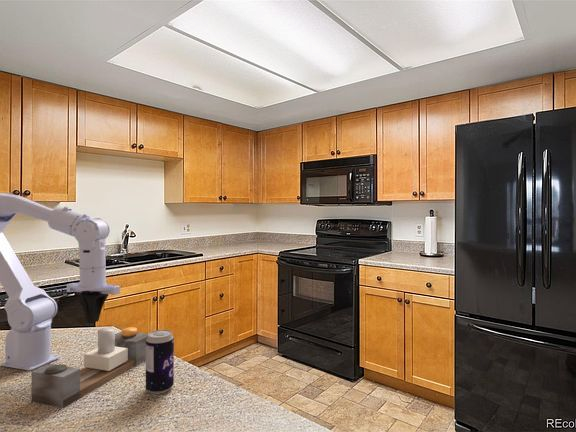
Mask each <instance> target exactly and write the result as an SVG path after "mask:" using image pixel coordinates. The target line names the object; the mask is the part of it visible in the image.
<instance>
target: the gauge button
mask: <svg viewBox="0 0 576 432" xmlns="http://www.w3.org/2000/svg"><path fill="white" fill-rule="evenodd" d="M121 331H122V336H125V337H126V338H131V337H133V336H134V335H136V334H137V332H138V328H137V327H135V326H131V327H130V326H129V327H125V328H122V329H121Z"/></svg>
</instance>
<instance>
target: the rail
mask: <svg viewBox="0 0 576 432" xmlns="http://www.w3.org/2000/svg"><path fill="white" fill-rule="evenodd" d="M148 334H149V333H145V332H139V331H137V334H136V335H134V336H133V337H131V338H126V337H125V336H122V330H120V331H119V332H117V333H115V346H116V347H123V348H128V361H126V362H124V363H122V364H120V365H119V366H117V367H115V368H113V369H111V370H110V371H106V370H100V369H94V368H88V367H83V368H79V367H72V366H67V365H66V364H61V363H60V364H56V363H47V364H45V365H42V366H40V367H38V368H36V369H33V370H31V374H30V375H31V385H30V386H31V390H30V391H31V392H30V393H31V399H30V401H31V403H36V404H40V405H45V406H50V407H56V408H60V409H64V408H66V407H68V406H69V405H71V404H72V403H75V402H76V401H77V400H80V399H81V398H83V397H84V396H86V395H88V394H90V393H91V392H93V391H95V390H96V389H99V388H100V387H101V386H103V385H104V384H106V383H108V382H110V381H112V380H113V379H115V378H116V377H118V376H120V375H121V374H123V373H125V372H127V371H128V370H130V369H132V368H134V367H137V366H139V365H141V364H142V363H144V362H146V339H147V337H148Z"/></svg>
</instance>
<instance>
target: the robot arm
mask: <svg viewBox="0 0 576 432" xmlns="http://www.w3.org/2000/svg"><path fill="white" fill-rule="evenodd" d="M18 214H22V215H25V216H28V217H31V218H34V219H38V220H41V221H44V222H47V224H48V226H49V228H50V229H52V230H54V231H57V232H60V233H63V234H65V235H68V236H71V237H74V239H75V240H76V241H77V242H78V243H77V244H78V249H79V250H78V251H79V252H78V254H79V255H78V256H79V258H78V259H79V263H78V264H79V282H72V283H67V284H66V293H72V292H73V293H74V292H76V293H80V294H79V295H77V296H76V299H77V301H78V302H79V303H80V305H81V306H82V308H83V311H84V314H85V317H86V320H87V323H89V324H94V323H97V322H99V321H100V316H101V312H102V309H103V308H104V307H103V306H104V304H105V302H106V300H107V298H108V297H109V295H111V296H116V295H119V294H121V285H116V284H110V283H107V276H106V274H107V273H106V272H107V271H106V270H107V269H106V265H107V264H106V261H107V259H106V256H107V255H106V254H107V253H106V252H107V251H106V239H107V237H108V236H109V235H110V225H109V223H108V222H106V220H103V219H102V218H101V217H100V218H99V217H98V218H97V217H96V218H91V217H90V214H87V213H83V214H82V213H78V212H76V211H73V208H72V207H69V206H64V207H57V208H55V209H53V208H51V207H48V206H45V205H43V204H41V203H38V202H36V201H33V200H31V199H29V198H26V197H24V196H21V195H18V194H14V193H11V192H5V193H4V192H3V193H1V192H0V284H1V286H2V288H3V290H4V291H5V293H6V295H7V296H8V299H7V300H6V303H5V304H4V306H3V308H4V310H5V312H6V316H7V322H8V324H9V326H10V330H9V331H8V332H7V334H6V336H5V341H4V343H5V345H4V346H5V347H4V350H5V351H4V362H2V363H1V366H2V367H7V368H11V369H18V370H23V371H34V370H36V369H39V368H41V367H43V366H46V365H48V364H50V363H51V362H53V361H55V360H58V359H60V356H59V355H54V354H51V353H52V352H51V350H52V348H51V347H52V344H51V343H52V337H51V336H52V334H51V333H52V323H53V319H54V317H55V316H56V314H57V313H58V304H57V302H56V300H55V299H54V298H52V297H50V296H49V295H48V293H46V291H45V289H42V288H40V287H38V286H36V285H34V284H33V281H32V280H31V278H30V276H29V275H28V272H27V271H26V270H25V268H24V266H23V265H22V263H21V261H20V259H19V258H18V256H17V255H16V253H15V251H14V249H13V248H12V246H11V244H10V243H9V241H8V240H7V237H6V236H5V234H4V231H5V229H6V228H7V227H8V225H9V224H10V223H11V221H12V220H13V219H15V216H16V215H18Z"/></svg>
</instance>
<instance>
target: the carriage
mask: <svg viewBox="0 0 576 432" xmlns="http://www.w3.org/2000/svg"><path fill="white" fill-rule="evenodd" d="M115 334H116V328H115V327H103V328H99V329H98V330H97V347H96V348H94V349H92V350H90V351H87V352H85V353H83V368H85V367H88V368H94V369H100V370H106V371H110V370H111V369H113V368H115V367H117V366H119V365H120V364H122V363H124V362H126V361H128V348H123V347H116V346H115Z"/></svg>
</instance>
